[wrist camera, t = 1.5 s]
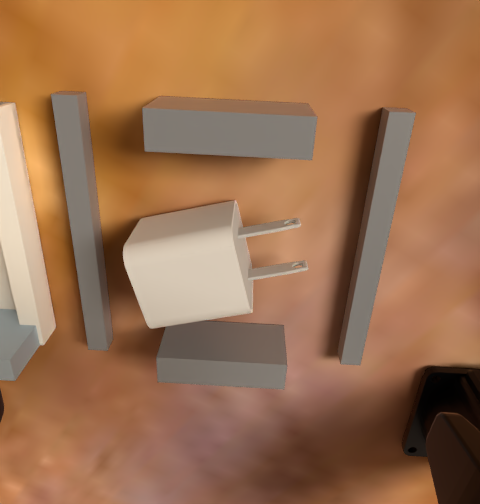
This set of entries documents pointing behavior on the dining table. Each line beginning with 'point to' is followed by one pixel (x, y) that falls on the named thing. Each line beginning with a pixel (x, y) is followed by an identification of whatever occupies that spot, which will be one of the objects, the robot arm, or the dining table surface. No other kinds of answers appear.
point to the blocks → (227, 144)
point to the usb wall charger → (197, 264)
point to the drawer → (19, 257)
